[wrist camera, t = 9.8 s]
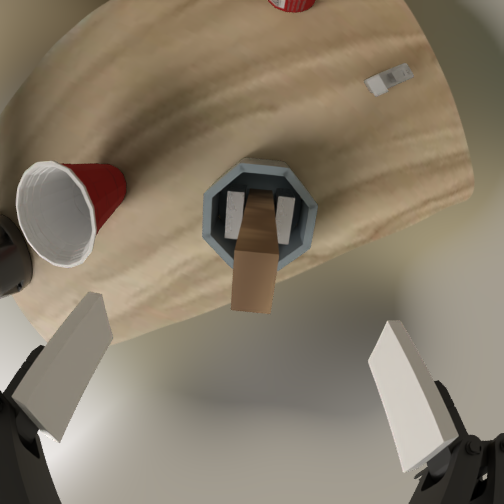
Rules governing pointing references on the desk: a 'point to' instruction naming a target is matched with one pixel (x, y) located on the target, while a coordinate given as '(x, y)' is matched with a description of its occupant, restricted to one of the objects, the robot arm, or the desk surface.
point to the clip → (237, 208)
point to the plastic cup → (67, 207)
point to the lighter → (388, 79)
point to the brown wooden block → (256, 255)
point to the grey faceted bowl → (255, 177)
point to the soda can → (292, 5)
